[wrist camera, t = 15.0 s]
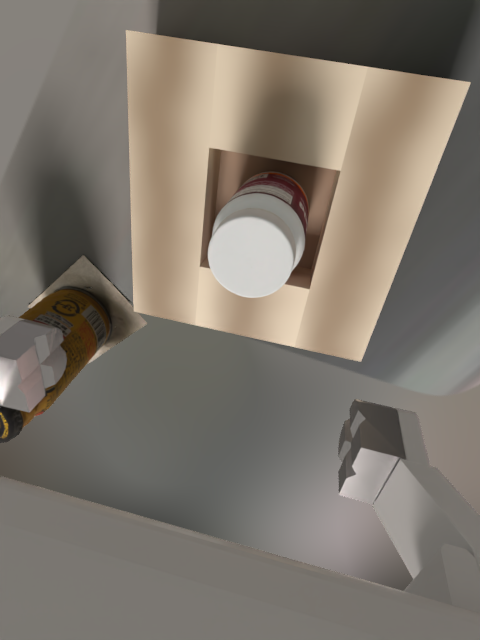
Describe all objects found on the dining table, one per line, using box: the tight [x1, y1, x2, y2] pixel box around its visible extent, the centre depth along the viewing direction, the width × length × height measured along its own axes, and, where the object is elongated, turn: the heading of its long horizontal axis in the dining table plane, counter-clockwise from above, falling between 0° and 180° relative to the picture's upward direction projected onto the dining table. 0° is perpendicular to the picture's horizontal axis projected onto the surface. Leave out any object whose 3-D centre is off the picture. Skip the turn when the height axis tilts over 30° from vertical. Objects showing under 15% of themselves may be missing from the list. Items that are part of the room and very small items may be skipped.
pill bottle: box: [208, 171, 309, 298], centre depth 21 cm, size 5×5×8 cm
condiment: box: [0, 255, 147, 443], centre depth 28 cm, size 7×8×12 cm
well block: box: [126, 30, 471, 362], centre depth 24 cm, size 16×16×4 cm
